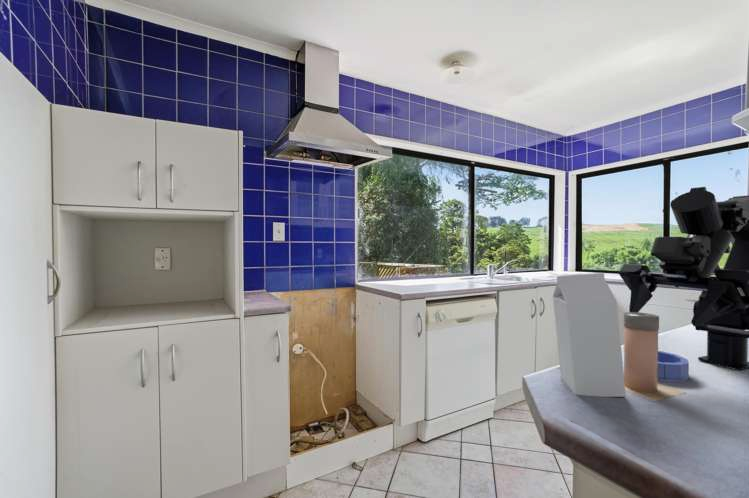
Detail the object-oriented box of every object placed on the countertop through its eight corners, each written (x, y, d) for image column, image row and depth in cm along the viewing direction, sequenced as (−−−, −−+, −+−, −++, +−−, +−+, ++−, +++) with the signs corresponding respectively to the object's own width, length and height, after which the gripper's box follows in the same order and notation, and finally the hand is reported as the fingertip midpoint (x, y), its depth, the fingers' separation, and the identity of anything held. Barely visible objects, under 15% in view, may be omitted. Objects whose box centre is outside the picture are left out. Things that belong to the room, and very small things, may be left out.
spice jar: (634, 379, 59) (635, 311, 59) (665, 390, 55) (665, 316, 55) (616, 383, 58) (617, 313, 58) (646, 395, 54) (647, 318, 53)
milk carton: (626, 397, 52) (614, 274, 53) (575, 398, 54) (564, 278, 54) (605, 379, 59) (594, 271, 59) (560, 380, 61) (550, 274, 61)
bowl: (644, 363, 69) (644, 346, 69) (699, 380, 61) (699, 360, 61) (613, 369, 66) (614, 351, 66) (668, 388, 58) (668, 367, 57)
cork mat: (632, 378, 62) (632, 374, 62) (685, 396, 54) (685, 392, 54) (601, 384, 59) (601, 381, 59) (653, 405, 52) (653, 401, 51)
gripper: (625, 223, 68) (585, 280, 65) (755, 217, 51) (711, 294, 47) (649, 262, 71) (613, 319, 68) (781, 268, 54) (742, 345, 50)
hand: (660, 318), depth 58 cm, fingers open, 9 cm apart
